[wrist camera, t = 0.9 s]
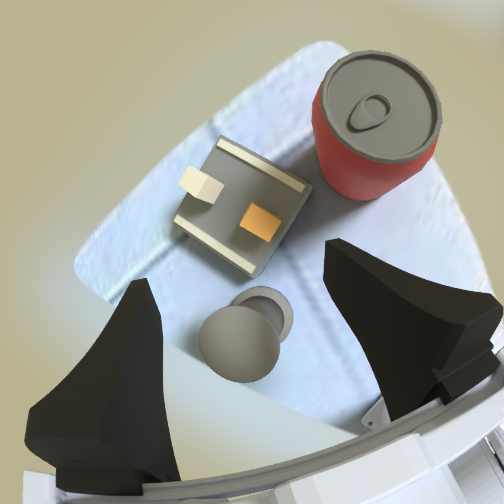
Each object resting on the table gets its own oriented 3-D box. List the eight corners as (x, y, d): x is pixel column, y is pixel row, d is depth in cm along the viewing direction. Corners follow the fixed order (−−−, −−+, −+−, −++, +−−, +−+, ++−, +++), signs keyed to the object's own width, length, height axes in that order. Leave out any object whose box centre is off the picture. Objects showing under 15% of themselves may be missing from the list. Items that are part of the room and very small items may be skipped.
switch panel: (313, 189, 23) (311, 184, 21) (260, 274, 25) (252, 279, 22) (230, 142, 25) (219, 133, 22) (184, 223, 26) (169, 222, 24)
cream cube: (224, 185, 22) (207, 176, 20) (213, 204, 22) (195, 197, 20) (205, 173, 23) (188, 165, 21) (195, 191, 23) (177, 184, 21)
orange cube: (278, 217, 21) (281, 221, 20) (266, 236, 22) (268, 242, 20) (251, 201, 21) (252, 203, 19) (239, 220, 21) (239, 225, 20)
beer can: (302, 155, 23) (275, 92, 12) (360, 107, 22) (377, 21, 10) (355, 218, 23) (381, 208, 11) (414, 168, 21) (478, 120, 10)
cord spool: (305, 309, 24) (295, 338, 18) (271, 356, 25) (250, 396, 19) (252, 274, 25) (223, 290, 18) (221, 322, 26) (186, 351, 19)
